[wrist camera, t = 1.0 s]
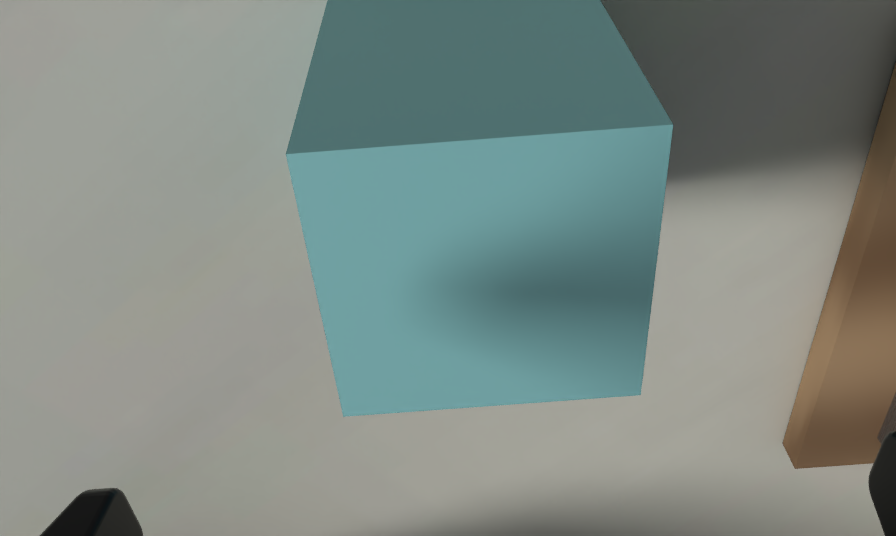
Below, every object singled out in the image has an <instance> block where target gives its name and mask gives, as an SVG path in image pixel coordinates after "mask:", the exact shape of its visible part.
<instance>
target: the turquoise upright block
mask: <svg viewBox="0 0 896 536" xmlns="http://www.w3.org/2000/svg"><path fill="white" fill-rule="evenodd" d="M672 131H673V123H672V122H671V120H670V118H669V116H668V115H667V113H666V111H665V110H664V108H663V106H662V105H661V103H660V101H659V99H658V98H657V96H656V94H655V93H654V91H653V89H652V88H651V86H650V84H649V82H648V81H647V79H646V77H645V76H644V74H643V72H642V71H641V69H640V67H639V65H638V64H637V62H636V60H635V59H634V57H633V55H632V54H631V52H630V50H629V48H628V47H627V45H626V43H625V42H624V40H623V38H622V37H621V35H620V33H619V31H618V30H617V28H616V26H615V25H614V23H613V21H612V20H611V18H610V16H609V14H608V13H607V11H606V9H605V8H604V6H603V4H602V3H601V1H600V0H328V1H327V5H326V9H325V12H324V16H323V20H322V23H321V27H320V31H319V34H318V38H317V42H316V45H315V49H314V53H313V56H312V60H311V64H310V67H309V71H308V75H307V78H306V82H305V86H304V89H303V93H302V97H301V101H300V104H299V108H298V112H297V115H296V119H295V123H294V126H293V130H292V134H291V137H290V141H289V145H288V148H287V152H286V157H287V161H288V166H289V171H290V175H291V180H292V184H293V189H294V193H295V198H296V203H297V207H298V212H299V216H300V221H301V225H302V230H303V234H304V239H305V244H306V248H307V253H308V257H309V262H310V266H311V271H312V276H313V280H314V285H315V289H316V294H317V298H318V303H319V308H320V312H321V317H322V321H323V326H324V330H325V335H326V340H327V344H328V349H329V353H330V358H331V362H332V367H333V371H334V376H335V381H336V385H337V390H338V394H339V399H340V403H341V408H342V413H343V417H345V416H359V415H372V414H386V413H400V412H414V411H428V410H441V409H455V408H469V407H483V406H497V405H510V404H524V403H538V402H552V401H566V400H579V399H593V398H607V397H621V396H635V395H641V387H642V379H643V371H644V362H645V354H646V346H647V337H648V329H649V321H650V313H651V304H652V296H653V288H654V280H655V271H656V263H657V255H658V246H659V238H660V230H661V222H662V213H663V205H664V197H665V189H666V180H667V172H668V164H669V155H670V147H671V139H672Z"/></svg>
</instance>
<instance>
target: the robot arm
mask: <svg viewBox="0 0 896 536" xmlns="http://www.w3.org/2000/svg"><path fill="white" fill-rule="evenodd" d="M869 490H870V494H871V498H872V500H873V503H874V506H875V509H876V511H877V514H878V517H879V520H880V523H881V525H882V528H883V531H884V534H885V536H896V431H891V432H890V433H888V434H887V435H886V436H885V438H884V440H883V442H882V444H881V447H880V449H879V452H878V454H877V457H876V459H875V461H874V464H873V466H872V469H871V471H870V475H869ZM40 536H143V533H142V529H141V526H140V524H139V522H138V520H137V518H136V516H135V514H134V512H133V510H132V508H131V506H130V504H129V502H128V501H127V499H126V497H125V495H124V493H123V492H122V491H121V490H119V489H117V488H105V489H92V490H87V491H84V492H82V493H81V494H80V495H78V496H77V497H76V498H75V499H74V500H73V501H72V502H71V503H70V504H69V505H68V506H67V507H66V509H65V510H64V511H63V512H62V513H61V514H60V515H59V516H58V517H57V518H56V519H55V520H54V521H53V522H52V523H51V524H50V525H49V526H48V527H47V529H46V530H45V531H44V532H43V533H42V534H41V535H40Z"/></svg>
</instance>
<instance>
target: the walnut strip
mask: <svg viewBox="0 0 896 536" xmlns="http://www.w3.org/2000/svg"><path fill="white" fill-rule="evenodd" d="M895 393H896V63H895V66H894V70H893V73H892V77H891V80H890V83H889V87H888V90H887V93H886V97H885V100H884V104H883V107H882V110H881V114H880V117H879V120H878V124H877V127H876V130H875V134H874V137H873V141H872V144H871V147H870V151H869V154H868V157H867V161H866V164H865V168H864V171H863V174H862V178H861V181H860V184H859V188H858V191H857V194H856V198H855V201H854V205H853V208H852V211H851V215H850V218H849V221H848V225H847V228H846V232H845V235H844V238H843V242H842V245H841V248H840V252H839V255H838V258H837V262H836V265H835V269H834V272H833V275H832V279H831V282H830V285H829V289H828V292H827V296H826V299H825V302H824V306H823V309H822V312H821V316H820V319H819V322H818V326H817V329H816V333H815V336H814V339H813V343H812V346H811V349H810V353H809V356H808V359H807V363H806V366H805V370H804V373H803V376H802V380H801V383H800V386H799V390H798V393H797V397H796V400H795V403H794V407H793V410H792V413H791V417H790V420H789V423H788V427H787V430H786V434H785V437H784V440H783V445H784V447H785V449H786V451H787V453H788V455H789V457H790V460H791V462H792V464H793V466H794V468H795V469H798V468H812V467H826V466H840V465H855V464H869V463H874V461H875V459H876V457H877V454H878V452H879V449H880V447H881V443H880V442H879V440H878V439H877V437H878V434H879V432H880V429H881V427H882V425H883V422H884V420H885V417H886V415H887V412H888V410H889V407H890V405H891V402H892V400H893V397H894V395H895Z"/></svg>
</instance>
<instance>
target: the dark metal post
mask: <svg viewBox="0 0 896 536" xmlns="http://www.w3.org/2000/svg"><path fill="white" fill-rule="evenodd" d="M891 431H896V393H895V395H894V397H893V400H892V402H891V405H890V407H889V410H888V412H887V415H886V417H885V420H884V422H883V425H882V427H881V429H880V432H879V434H878V437H877V439H878V440H879V442H880V443H881V444H882V442H883V440H884V438H885V436H886V435H887V434H888V433H890V432H891Z"/></svg>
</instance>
